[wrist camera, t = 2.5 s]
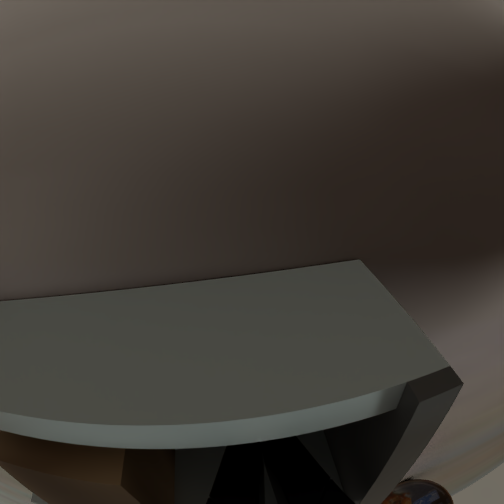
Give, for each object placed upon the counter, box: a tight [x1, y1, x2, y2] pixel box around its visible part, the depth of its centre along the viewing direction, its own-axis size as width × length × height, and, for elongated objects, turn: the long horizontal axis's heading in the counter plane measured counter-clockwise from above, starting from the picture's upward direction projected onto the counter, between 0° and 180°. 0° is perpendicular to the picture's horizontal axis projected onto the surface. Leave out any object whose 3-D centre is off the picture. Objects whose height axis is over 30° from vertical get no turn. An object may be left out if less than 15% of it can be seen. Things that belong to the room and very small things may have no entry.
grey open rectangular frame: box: [0, 259, 464, 504], centre depth 7 cm, size 13×8×5 cm, turn 95°
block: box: [0, 430, 175, 504], centre depth 7 cm, size 4×4×5 cm
